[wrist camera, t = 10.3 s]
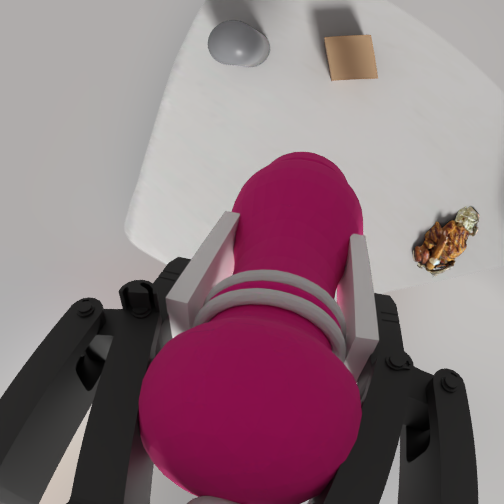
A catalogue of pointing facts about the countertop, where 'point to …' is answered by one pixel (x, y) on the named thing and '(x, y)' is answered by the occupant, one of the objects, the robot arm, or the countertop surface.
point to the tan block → (351, 57)
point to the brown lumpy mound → (446, 242)
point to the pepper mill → (264, 351)
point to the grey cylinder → (238, 44)
